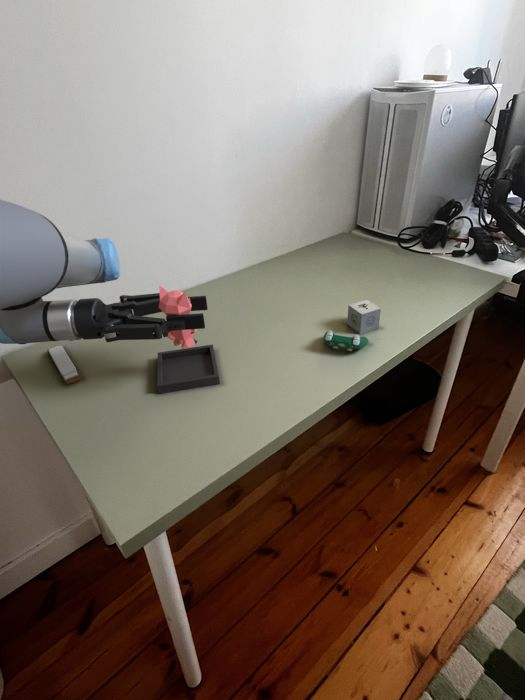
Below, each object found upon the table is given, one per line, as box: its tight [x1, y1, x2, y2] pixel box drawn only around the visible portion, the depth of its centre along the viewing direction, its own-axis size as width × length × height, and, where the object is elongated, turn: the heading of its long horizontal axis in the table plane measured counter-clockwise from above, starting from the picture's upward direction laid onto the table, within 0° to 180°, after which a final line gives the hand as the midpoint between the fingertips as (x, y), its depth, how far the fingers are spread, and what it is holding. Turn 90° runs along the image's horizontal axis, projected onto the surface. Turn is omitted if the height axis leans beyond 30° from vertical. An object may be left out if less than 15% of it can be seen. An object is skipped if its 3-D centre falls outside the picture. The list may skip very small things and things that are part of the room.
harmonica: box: [46, 344, 81, 385], centre depth 91 cm, size 15×3×2 cm, turn 36°
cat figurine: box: [158, 285, 200, 349], centre depth 80 cm, size 7×7×12 cm
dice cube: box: [346, 299, 382, 335], centre depth 97 cm, size 5×5×5 cm
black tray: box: [156, 344, 221, 394], centre depth 87 cm, size 12×12×2 cm
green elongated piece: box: [323, 330, 369, 352], centre depth 91 cm, size 9×4×6 cm
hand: (205, 311), depth 80 cm, fingers closed on cat figurine, 6 cm apart
